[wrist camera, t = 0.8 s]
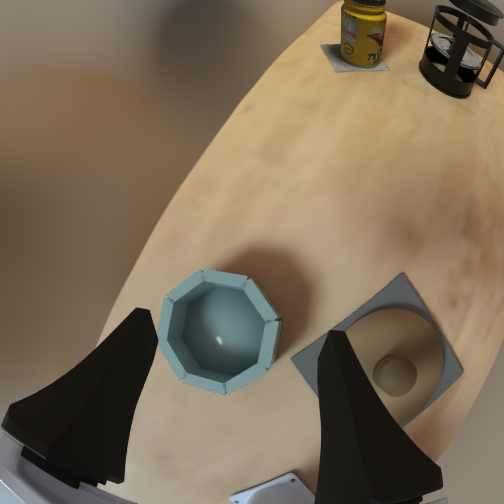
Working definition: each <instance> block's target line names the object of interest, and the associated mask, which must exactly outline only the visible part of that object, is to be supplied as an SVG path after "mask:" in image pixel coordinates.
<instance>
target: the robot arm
mask: <svg viewBox="0 0 504 504" xmlns="http://www.w3.org/2000/svg"><path fill="white" fill-rule="evenodd" d="M158 341H159V340H158V336H157V333H156V330H155V327H154V323H153V320H152V317H151V313H150V310H148V309H142V308H137V307H136V308H135V309H134V310H133V311H132V312H131V313H130V314H129V315H128V316H127V317H126V318H125V319H124V320H123V321H122V323H121V324H120V325H119V326H118V327H117V328H116V329H115V330H114V331H113V332H112V333H111V334H110V335H109V336H108V337H107V338H106V339H105V340H104V341H103V342H102V343H101V344H100V345H99V346H98V347H97V348H95V349H94V350H93V351H92V352H91V353H90V354H89V355H88V356H87V357H86V358H85V359H83V360H82V361H81V362H80V363H79V364H78V365H76V366H75V367H74V368H73V369H71V370H70V371H69V372H67V373H66V374H65V375H63V376H62V377H60V378H59V379H58V380H56V381H55V382H53V383H52V384H50V385H48V386H47V387H45V388H43V389H42V390H40V391H38V392H36V393H35V394H32V395H31V396H29V397H26V398H24V399H22V400H20V401H17V402H15V403H13V404H11V405H10V406H9V408H8V410H7V413H6V415H5V417H4V419H3V422H2V424H1V427H2V429H3V430H5V431H6V432H7V433H8V434H9V435H11V436H12V437H13V438H15V439H16V440H17V441H19V442H20V443H22V444H23V445H24V446H23V445H22V444H20V443H18V442H17V441H15V440H14V439H13V438H11V437H10V436H8V435H7V434H6V433H2V435H1V438H0V481H1V482H2V483H3V484H4V485H6V486H7V487H8V488H9V489H10V490H11V491H12V492H13V493H14V494H15V495H16V496H17V497H18V498H19V499H20V500H21V501H22V502H23V503H25V504H137V503H134V502H131V501H129V500H126V499H123V498H121V497H118V496H115V495H113V494H111V493H108V492H106V491H103V490H101V489H99V488H97V485H98V483H100V484H103V485H106V482H107V480H108V481H111V482H114V483H116V484H120V483H122V482H124V476H125V463H126V454H127V447H128V441H129V435H130V430H131V425H132V421H133V416H134V412H135V409H136V405H137V402H138V400H139V397H140V394H141V392H142V389H143V387H144V384H145V381H146V379H147V376H148V374H149V371H150V368H151V366H152V363H153V360H154V357H155V353H156V349H157V345H158ZM317 385H318V396H319V407H320V419H321V453H320V465H319V475H318V483H317V490H316V496H315V495H314V494H313V493H312V492H311V491H310V490H309V489H308V488H307V487H306V486H305V485H304V484H303V482H302V481H301V480H300V479H299V478H298V477H297V476H296V475H295V474H294V473H287V474H285V475H283V476H281V477H278V478H276V479H274V480H271V481H269V482H266V483H264V484H261V485H259V486H256V487H253V488H251V489H248V490H245V491H242V492H239V493H236V494H233V495H231V496H230V500H231V501H232V502H233V503H234V504H419V502H422V500H423V498H422V495H425V494H428V493H431V492H434V491H437V490H439V489H441V488H442V487H443V479H442V472H441V468H440V467H439V466H438V465H437V464H436V463H434V462H433V461H432V460H431V459H430V458H429V457H428V456H427V455H426V454H424V453H423V452H422V451H421V450H420V448H419V447H418V446H417V445H416V444H415V443H414V442H413V441H412V440H411V439H410V438H409V436H408V435H407V434H406V433H405V432H404V431H403V430H402V428H401V427H400V426H399V425H398V423H397V422H396V421H395V419H394V418H393V417H392V415H391V414H390V412H389V411H388V410H387V408H386V407H385V405H384V404H383V402H382V401H381V399H380V397H379V396H378V394H377V392H376V391H375V389H374V387H373V386H372V384H371V382H370V380H369V379H368V377H367V375H366V373H365V371H364V369H363V368H362V366H361V364H360V362H359V360H358V358H357V356H356V354H355V352H354V350H353V347H352V345H351V343H350V341H349V339H348V337H347V335H346V333H345V331H340V330H329V332H328V335H327V337H326V340H325V342H324V345H323V347H322V349H321V352H320V354H319V357H318V363H317ZM291 479H295V480H294V481H292V480H291ZM236 500H237V501H239V502H237V501H236ZM427 504H448V499H447V498H446V497H445V498H442V499H439V500H436V501H433V502H430V503H427Z"/></svg>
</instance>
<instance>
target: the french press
mask: <svg viewBox="0 0 504 504" xmlns="http://www.w3.org/2000/svg"><path fill="white" fill-rule="evenodd" d="M449 1H450V2H451V3H452V4H454V5H455V6H456V7H458V8H459V9H461V10H463V11H464V12H466V13H467V14H465V13H463V12H461V11H459V10H456V9H454V8H451V7H448V6H444V5H437V6H436V8H435V12H434V16H433V20H432V24H431V28H430V32H429V36H428V39H427V43H426V47H425V50H424V54H423V57H422V59H421V61H420V62H419V70H420V72H421V74H422V75H423V77H424V78H425V79H426V80H427V81H428V82H429V83H430V84H431V85H432V86H434V87H435V88H436V89H438V90H439V91H441V92H443V93H445V94H447V95H449V96H451V97H454V98H458V99H465V98H468V97H469V96H470V94H471V89H472V87H473V85H474V83H476V84H478V85H479V86H481V87H482V88H484V89H486V88H487V86H488V84H489V82H490V81H491V79H492V77H493V75H494V73H495V71H496V69H497V67H498V65H499V63H500V61H501V59H502V57H503V55H504V46H503V45H502V44H500V43H499V42H497V41H496V40H495V39H494V38H493V36H492V34H491V33H490V32H489V31H488V30H487V29H486V28H485V27H484V26H483V25H481V24H480V23H479V22H478V21H476V20H475V19H473V18H472V17H470V16H469V15H471V16H473V17H475V18H477V19H478V20H480V21H482V22H485V23H487V24H489V25H493V26H497V24H498V21H499V18H501V19H503V18H504V15H503V14H502V12H501V11H500V10H499V9H498V8H496V7H495V6H494V5H493V4H492V3H490V2H489V1H488V0H449ZM439 12H444V13H448V14H451V15H454V16H456V17H458V22H457V25H454V24H453V23H451V22H450V21H448V20H447V19H446V18H445V17H443V16H442V15H441V14H440V13H439ZM435 18H436V19H437V20H438V21H439V22H440V23H441V24H442V25H443V26H444V27H446V28H447V29H449V30H450V31H451V32H453V33H454V35H453V37H451V36H448V35H445V34H441V33H433V34H431V32H432V28H433V24H434V20H435ZM469 24H471V25H472V26H474V27H475V28H476V29H478V30H479V31H480V32H481V33H482V34H483V35H484V36H486V38H487V39H488V41H484V40H482V39H480V38H477V37H475V36H473V35H471V34H469V33H467V32H466V31H467V28H468V25H469ZM429 40H430V41H431V44H432V45H433V46H428V43H429ZM469 43H472V44H474V45H476V46H478V47H481V48H484V49H487V50H486V53H485V55H484V57H483V59H482V62H480V60H479V58H478V56H477V55H476V54H475V53H474V52H473V51H472V50H471V49H470V48H469V47H468V44H469ZM493 44H494V45H496V46H497V47H499V48H500V49H501V50H500V53H499V55H498V57H497V59H496V61H495V63H494V65H493V67H492V69H491V71H490V73H489V75H488V77H487V79H486V81H485V82H483V81H482V80H480V79H479V78H477V77H478V75H479V73H480V71H481V69H482V67H483V65H484V63H485V61H486V59H487V57H488V54H489V52H490V50H491V48H492V45H493ZM432 63H438V64H442V65H444V66H446V67H445V70H444V72H442V71H440V70H439V69H438V68H437V67H435V66H434V65H433V64H432ZM477 69H478V70H477ZM473 70H477V72H476V74H475V73H474V71H473ZM456 74H457V75H458V76H459V77H460V78H461V79H462V81H463V82H461V81H458V80H456V79H454V78H455V76H456Z"/></svg>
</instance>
